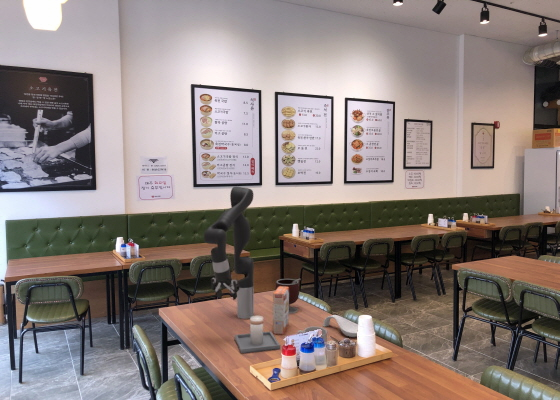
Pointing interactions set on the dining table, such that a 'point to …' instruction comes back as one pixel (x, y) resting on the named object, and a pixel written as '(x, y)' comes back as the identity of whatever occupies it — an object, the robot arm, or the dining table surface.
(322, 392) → the dining table surface
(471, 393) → the dining table surface
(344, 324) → the spoon rest
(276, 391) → the dining table surface
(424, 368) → the dining table surface
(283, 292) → the cracker box
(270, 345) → the tray
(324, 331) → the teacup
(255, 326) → the salt shaker
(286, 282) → the mate gourd
